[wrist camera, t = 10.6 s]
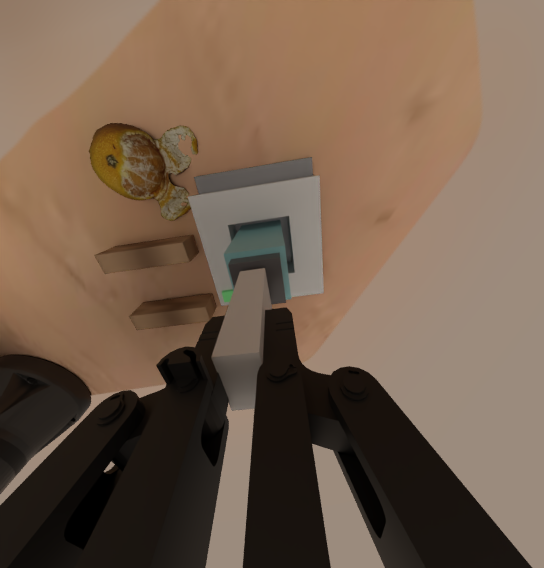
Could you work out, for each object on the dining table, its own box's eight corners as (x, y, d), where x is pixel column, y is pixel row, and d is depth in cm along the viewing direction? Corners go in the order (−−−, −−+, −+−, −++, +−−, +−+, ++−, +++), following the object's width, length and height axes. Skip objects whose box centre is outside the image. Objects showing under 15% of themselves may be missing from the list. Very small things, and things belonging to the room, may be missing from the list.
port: (230, 300, 26) (223, 319, 23) (195, 176, 20) (179, 176, 16) (317, 289, 25) (324, 307, 22) (311, 157, 19) (319, 153, 16)
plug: (249, 261, 23) (234, 313, 14) (241, 225, 21) (220, 259, 12) (284, 256, 23) (292, 306, 14) (280, 219, 21) (286, 250, 12)
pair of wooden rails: (150, 315, 27) (136, 330, 24) (115, 246, 23) (94, 255, 20) (216, 306, 27) (210, 321, 24) (193, 234, 22) (182, 242, 20)
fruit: (191, 223, 22) (177, 231, 19) (109, 201, 21) (79, 205, 18) (200, 131, 18) (185, 121, 15) (101, 99, 17) (61, 81, 14)
